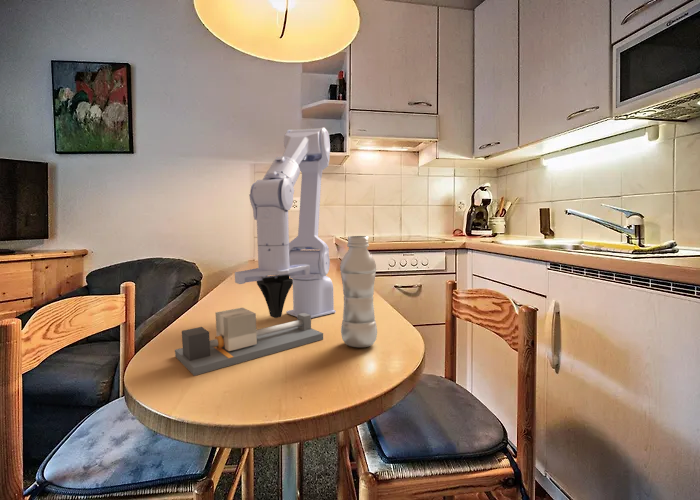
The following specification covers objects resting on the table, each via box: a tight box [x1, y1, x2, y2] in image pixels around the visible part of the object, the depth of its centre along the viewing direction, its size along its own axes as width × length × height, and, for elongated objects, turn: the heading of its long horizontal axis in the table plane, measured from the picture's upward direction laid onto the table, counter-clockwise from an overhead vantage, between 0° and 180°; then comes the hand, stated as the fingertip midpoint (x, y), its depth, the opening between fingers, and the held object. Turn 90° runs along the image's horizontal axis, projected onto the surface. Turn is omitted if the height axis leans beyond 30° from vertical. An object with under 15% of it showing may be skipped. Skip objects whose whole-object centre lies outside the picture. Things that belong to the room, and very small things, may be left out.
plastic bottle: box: [339, 235, 378, 348], centre depth 66 cm, size 6×7×20 cm
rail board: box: [174, 313, 324, 377], centre depth 66 cm, size 24×10×5 cm, turn 130°
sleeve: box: [215, 307, 257, 351], centre depth 64 cm, size 5×5×6 cm
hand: (275, 316), depth 69 cm, fingers closed
